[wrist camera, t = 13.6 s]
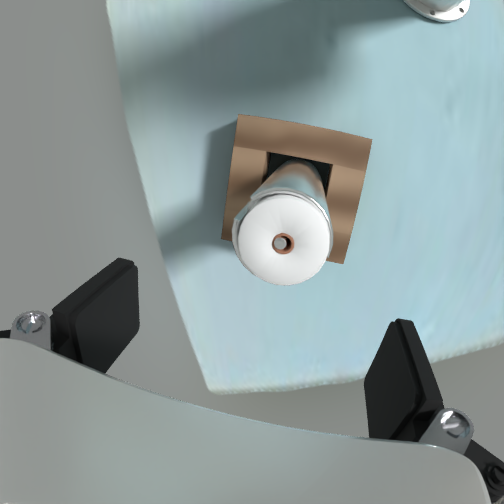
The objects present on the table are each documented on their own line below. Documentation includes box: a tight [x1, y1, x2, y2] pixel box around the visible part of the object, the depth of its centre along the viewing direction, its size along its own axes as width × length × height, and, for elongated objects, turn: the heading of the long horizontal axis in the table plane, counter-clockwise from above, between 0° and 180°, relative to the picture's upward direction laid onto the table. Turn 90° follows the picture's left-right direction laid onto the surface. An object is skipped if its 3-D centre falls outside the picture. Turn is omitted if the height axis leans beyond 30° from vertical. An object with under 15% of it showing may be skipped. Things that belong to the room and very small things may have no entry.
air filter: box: [232, 159, 333, 285], centre depth 31 cm, size 6×6×25 cm
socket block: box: [221, 114, 372, 264], centre depth 40 cm, size 16×16×5 cm
